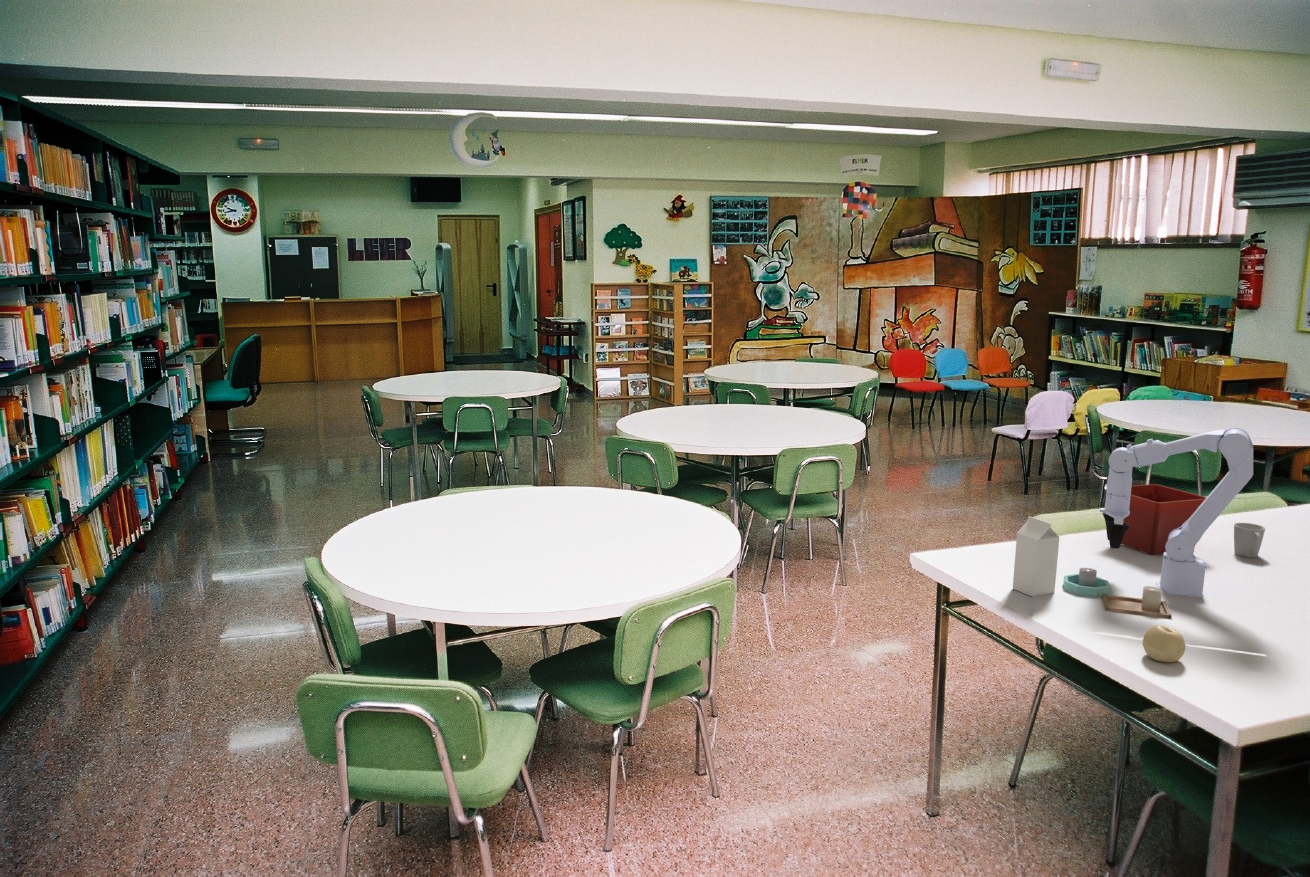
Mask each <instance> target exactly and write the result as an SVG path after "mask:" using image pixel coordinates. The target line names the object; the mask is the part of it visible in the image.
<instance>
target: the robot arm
mask: <svg viewBox="0 0 1310 877" xmlns="http://www.w3.org/2000/svg"><path fill="white" fill-rule="evenodd" d="M1199 450H1206V451H1209V452H1211V453H1215V454H1217V452H1218V450H1219V451H1220V453H1221V454H1222V455H1223V457H1224V458H1225V460H1226V462H1227V466H1228V472H1227V473H1226V474H1225V476H1224V477H1222V479H1221V480H1220V481H1219V482H1218V484H1217V485H1216V486H1215V487H1214V489H1212V491H1211V492H1210V493H1209V494H1208V496H1206V499H1205V500H1204V501H1203V503H1202V504H1201V505H1200V506H1199V507H1198V508H1197V510H1196V511H1195V512H1194V513H1193V514H1192V516H1191V517H1190V518H1189V519H1188V520H1187V521H1186V522H1184V524H1183V525H1182V526H1181V527H1179V528H1177V529H1174V530H1173V531H1172V532H1171V533H1170V534H1169V536H1168V541H1167V543H1166V546H1165V549H1166V552H1165V553H1164V554H1162V564H1161V571H1160V572H1161V573H1160V581H1156V584H1155V585H1156V586H1157V588H1160V589H1161V590H1162V594H1170V595H1180V596H1181V595H1182V596H1189V597H1198V598H1203V597H1204V596H1203V592H1204V591H1203V590H1204V585H1205V584H1204V583H1205V578H1206V577H1205V576H1206V565H1205V564H1206V563H1205V561H1204V560H1203V559H1197V558H1196V555H1195V554H1194V553H1195V547H1196V545H1197V544H1198V543H1199V542H1200V541H1201V538H1202V537H1203V535H1204V534H1205V533H1206V531H1207V530H1208V529H1209V528H1210V527H1211V526H1212V524H1213V523H1214V522H1215V521H1216V520H1217V518H1218V517H1220V515H1221V514H1222V512H1224V510H1225V509H1226V508H1227V507H1228V506H1229V505H1230V503H1231V502H1232V501H1233V500H1234V499H1235V497H1237V496H1238V494H1240V492H1241V491H1242V490H1243V488H1244V487H1245V486H1246V485H1247V484H1248V482H1249V481H1250V480H1251V479H1252V478H1253V476H1254V445H1253V442H1252V439H1251V437H1250V434H1249V433H1248V432H1247V431H1246V430H1245V429H1244V428H1243V429H1242V428H1240V427H1231V428H1228V429H1226V430H1225V429H1217V430H1212V431H1207V432H1203V433H1198V434H1195V435H1192V436H1188V437H1184V438H1180V439H1176V440H1172V441H1168V442H1164V441H1161V440H1159V439H1156V440H1154V439H1153V438H1149V439H1147V440H1146V442H1142V443H1139V444H1134V445H1132V444H1127V445H1126V447H1123V446H1122V447H1117V448H1115V449H1114V450H1113V451H1112V452H1111V453H1110V455H1109V457H1108V465H1109V468H1108V476H1107V481H1106V493H1105V504H1104V507H1099V512H1100V513H1102V516H1103V519H1104V521H1105V522H1104V523H1105V527H1106V528H1105V530H1106V538H1107V540H1108V542H1109V546H1110V549H1117V550H1119V549H1120V548H1121V546H1122V544H1121V543H1122V540H1123V537H1124V535H1125V533H1126V531H1127V530H1128V528H1129V527H1130V524H1126V523H1123V521H1124V519H1125V518H1126V517H1127V516H1128V515H1129V514H1130V511H1129V507H1130V497H1131V487H1132V486H1133V477H1132V476H1133V468H1141V467H1148V466H1150V465H1156V464H1159V463H1165V461H1166V460H1167V459H1168V457H1169V456H1172V455H1177V454H1185V453H1188V452H1192V451H1193V452H1194V451H1199Z"/></svg>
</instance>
